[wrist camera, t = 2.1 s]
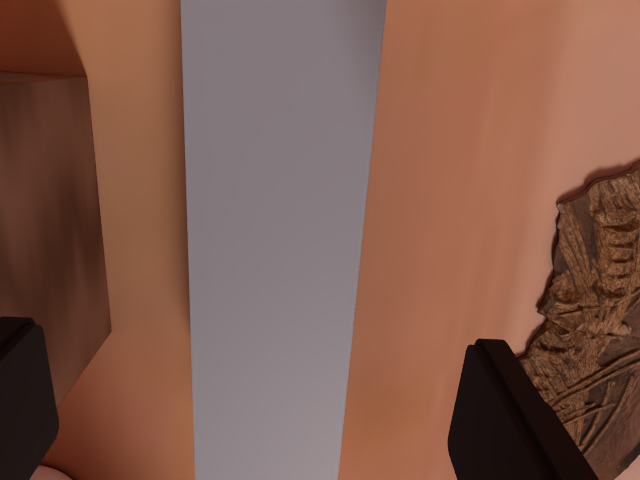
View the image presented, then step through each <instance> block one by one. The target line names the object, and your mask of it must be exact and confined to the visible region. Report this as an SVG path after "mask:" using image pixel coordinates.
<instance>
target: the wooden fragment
mask: <svg viewBox="0 0 640 480" xmlns="http://www.w3.org/2000/svg"><path fill="white" fill-rule="evenodd" d="M557 208H558V210H559V212H560V215H559V221H558V223H557V224H556V225H557V228H558V237H559V242H558V243H557V245H556V248H555V251H554V256H553V260H554V262H553V263H554V271H555V276H554V278H553V280H552V284H551V285H550V286H549V287H548V288H547V291H546V296H545V298H544V300H543V302H542V303H541V305H540V307H539V308H538V311H537V312H538V313H540V314H542V315H543V316H545V317H546V318H547V319H546V322H545V323H544V324H543V325H542V327H541V329H540V332H538V333H537V334H536V336H535V337H534V339H533V341H532V342H531V345H530V348H529V350H527V354H526V355H524V356H520V357H519V358H518V361H519V362H520V364H521V365H522V367H523V369H524V370H525V372H526V373H527V375H528V376H529V378H530V379H531V381H532V382H533V384H534V386H535V387H536V389H537V390H538V392H539V393H540V395H541V396H542V398H543V399H544V401H545V402H546V403H548V404H549V405H550V406H551V407H552V408H553V410H554V411H555V413H556V415H557V416H558V418H559V419H560V421H561V422H562V424H563V425H564V427H565V428H566V430H567V431H568V433H569V434H570V436H571V437H572V439H573V440H574V442H575V443H576V445H577V447H578V448H579V450H580V451H581V453H582V454H583V456H584V457H585V459H586V460H587V462H588V463H589V465H590V466H591V468H592V469H593V471H594V472H595V474H596V476H597V477H598V479H599V480H614V479H615V478H616V477H617V476H619V475H620V474H621V473H622V472H623V471H624V470H625V469H627V468H628V467H629V465H630V464H631V463H632V462H633V461H634V460H635V459H636V458H637V456H638V455H639V454H640V160H638V161H637V162H636V163H634V164H633V165H632V166H631V167H630V169H629V170H626V171H624V172H621V173H618V174H615V175H612V176H609V177H602V178H596V179H595V180H594V181H593V182H591V183H590V184H589V185H588V187H587V189H586V190H585V189H584V191H583V192H582V193H580V194H577V195H575V196H573V197H571V198H568V199H566V200H564V201H561V202H560V203H559V204H558V205H557Z"/></svg>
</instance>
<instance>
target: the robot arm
mask: <svg viewBox="0 0 640 480" xmlns="http://www.w3.org/2000/svg"><path fill="white" fill-rule="evenodd" d="M58 429H59V420H58V414H57V408H56V402H55V396H54V390H53V384H52V378H51V372H50V366H49V360H48V354H47V348H46V342H45V336H44V331H43V328H42V326H41V325H37V324H36V322H35V321H34V319H32V318H30V317H10V316H3V317H0V480H29V479H30V478H31V476H32V475H33V473H34V472H35V470H36V469H37V467H38V465H39V464H40V462H41V461H42V459H43V458H44V456H45V454H46V453H47V451H48V450H49V448H50V447H51V445H52V444H53V442H54V440H55V438H56V436H57V433H58ZM448 451H449V456H450V459H451V462H452V465H453V468H454V471H455V474H456V477H457V480H599V479H598V477H597V476H596V474H595V472H594V471H593V469H592V468H591V466H590V465H589V463H588V462H587V460H586V459H585V457H584V456H583V454H582V453H581V451H580V450H579V448H578V447H577V445H576V443H575V442H574V440H573V439H572V437H571V436H570V434H569V433H568V431H567V430H566V428H565V427H564V425H563V424H562V422H561V421H560V419H559V418H558V416H557V415H556V413H555V411H554V410H553V408H552V407H551V406H550V405H549V404H548V403H546V402H545V401H544V399H543V398H542V396H541V395H540V393H539V392H538V390H537V389H536V387H535V386H534V384H533V382H532V381H531V379H530V378H529V376H528V375H527V373H526V372H525V370H524V369H523V367H522V365H521V364H520V362H519V361H518V359H517V358H516V356H515V355H514V353H513V352H512V350H511V348H510V347H509V345H508V344H507V342H506V341H505V340H498V339H477V340H476V342H475V345H468V347H467V350H466V354H465V359H464V364H463V368H462V373H461V378H460V383H459V387H458V392H457V397H456V402H455V406H454V411H453V416H452V421H451V425H450V430H449V435H448Z"/></svg>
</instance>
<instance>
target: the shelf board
mask: <svg viewBox="0 0 640 480" xmlns="http://www.w3.org/2000/svg"><path fill="white" fill-rule="evenodd" d="M180 1H181V33H182V66H183V99H184V132H185V164H186V197H187V230H188V262H189V295H190V328H191V361H192V393H193V426H194V459H195V480H338V471H339V461H340V451H341V442H342V432H343V422H344V412H345V403H346V393H347V383H348V373H349V363H350V354H351V344H352V334H353V324H354V315H355V305H356V295H357V285H358V275H359V266H360V256H361V246H362V236H363V227H364V217H365V207H366V197H367V187H368V178H369V168H370V158H371V148H372V139H373V129H374V119H375V109H376V99H377V90H378V80H379V70H380V60H381V51H382V41H383V31H384V21H385V11H386V2H387V0H180Z"/></svg>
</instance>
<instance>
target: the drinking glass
mask: <svg viewBox="0 0 640 480" xmlns="http://www.w3.org/2000/svg"><path fill="white" fill-rule="evenodd" d="M29 480H72V479H71V478H70V477H68V476H67V475H66V474H64V473H62V472H60V471H58V470H56V469H53V468H50V467H46V466H41V465H38V467H37V469H36V470H35V472H34V473H33V475H32V476H31V478H30V479H29Z"/></svg>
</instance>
